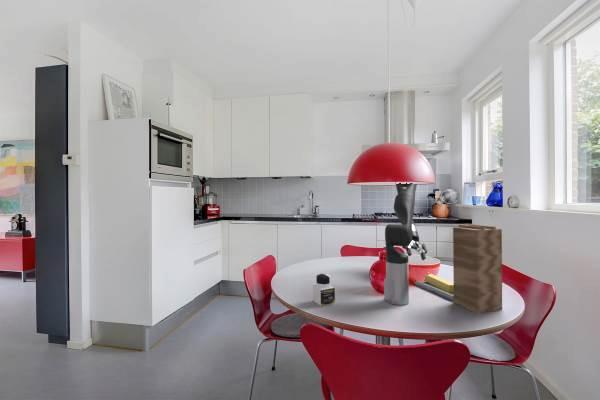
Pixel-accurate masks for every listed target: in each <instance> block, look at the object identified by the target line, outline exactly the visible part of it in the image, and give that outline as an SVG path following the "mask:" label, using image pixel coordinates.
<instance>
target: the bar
mask: <svg viewBox="0 0 600 400" xmlns="http://www.w3.org/2000/svg"><path fill="white" fill-rule="evenodd" d="M424 281H426V282H428V283H430V284H432V285H434V286H436V287H438V288H440V289H442V290H444V291H446V292H448V293H454V282H451V281H449V280H447V279H445V278H442V277H440V276H438V275H435V274H433V273H431V274H429V275H426V276H425V280H424Z"/></svg>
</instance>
